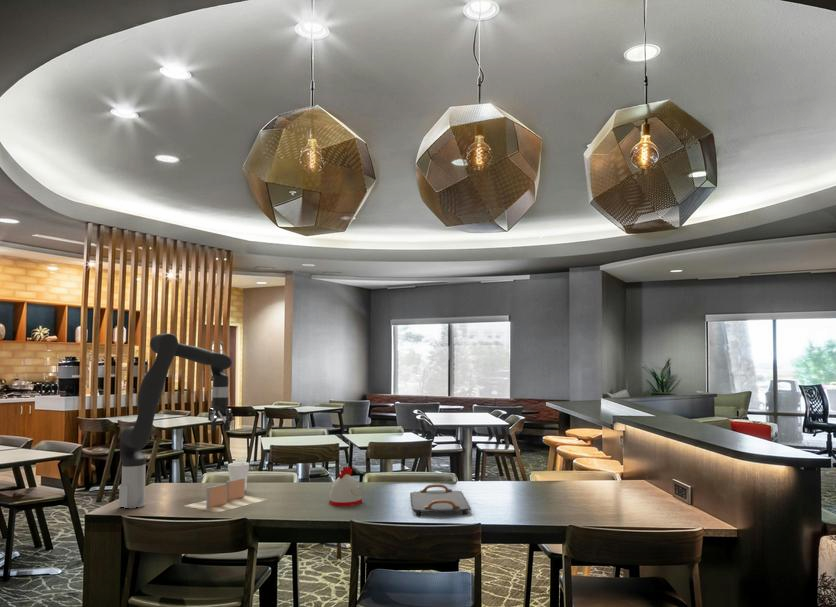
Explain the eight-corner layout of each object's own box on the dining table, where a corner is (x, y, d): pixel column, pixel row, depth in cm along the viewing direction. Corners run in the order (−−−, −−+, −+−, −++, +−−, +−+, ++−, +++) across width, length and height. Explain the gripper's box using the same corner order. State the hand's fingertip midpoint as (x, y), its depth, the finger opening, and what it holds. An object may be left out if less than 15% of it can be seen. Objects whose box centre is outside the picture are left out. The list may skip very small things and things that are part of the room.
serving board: (472, 517, 245) (472, 501, 245) (412, 519, 244) (412, 502, 244) (461, 496, 283) (461, 481, 284) (409, 497, 282) (408, 483, 283)
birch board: (217, 514, 253) (217, 512, 253) (182, 508, 266) (182, 505, 266) (268, 501, 276) (268, 499, 276) (234, 496, 288) (234, 493, 288)
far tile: (228, 500, 274) (228, 481, 275) (225, 500, 275) (225, 481, 276) (244, 496, 281) (244, 478, 282) (241, 496, 282) (242, 478, 283)
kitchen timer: (368, 501, 274) (368, 465, 275) (347, 507, 262) (347, 470, 264) (343, 497, 281) (343, 463, 283) (322, 504, 270) (322, 467, 271)
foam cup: (241, 495, 290) (241, 465, 291) (223, 494, 293) (223, 465, 294) (252, 490, 299) (253, 462, 300) (235, 489, 302) (236, 461, 303)
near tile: (209, 508, 261) (209, 488, 262) (206, 507, 262) (206, 487, 263) (227, 503, 268) (227, 484, 269) (224, 503, 269) (224, 483, 270)
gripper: (204, 396, 309) (203, 430, 308) (224, 397, 301) (223, 431, 300) (216, 395, 315) (216, 429, 314) (236, 396, 308) (236, 430, 306)
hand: (219, 430), depth 307 cm, fingers open, 8 cm apart
